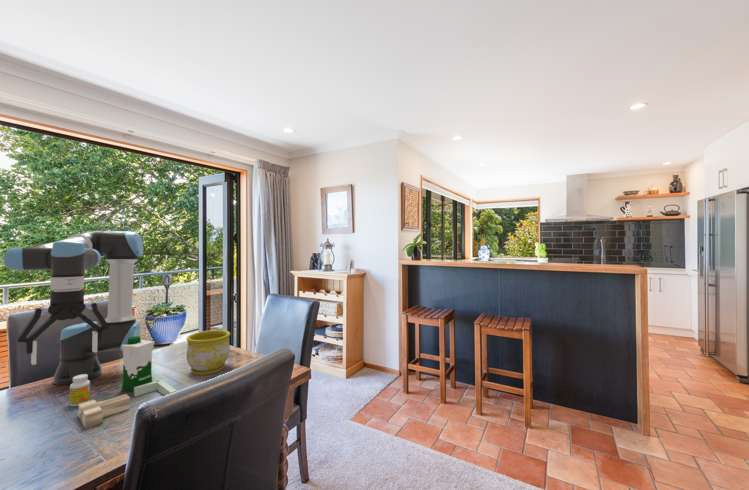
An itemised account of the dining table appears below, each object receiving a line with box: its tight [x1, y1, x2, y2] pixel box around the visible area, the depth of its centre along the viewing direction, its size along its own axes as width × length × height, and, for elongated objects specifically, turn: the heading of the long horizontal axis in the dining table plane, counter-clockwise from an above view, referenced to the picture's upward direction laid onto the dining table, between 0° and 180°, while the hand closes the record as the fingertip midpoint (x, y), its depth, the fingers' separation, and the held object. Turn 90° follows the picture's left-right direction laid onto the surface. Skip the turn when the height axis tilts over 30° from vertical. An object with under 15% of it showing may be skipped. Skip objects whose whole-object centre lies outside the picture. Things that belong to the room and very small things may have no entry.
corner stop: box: [133, 379, 177, 397], centre depth 116 cm, size 16×9×3 cm, turn 53°
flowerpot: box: [186, 329, 231, 376], centre depth 142 cm, size 18×18×16 cm
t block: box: [77, 393, 131, 429], centre depth 103 cm, size 12×12×4 cm
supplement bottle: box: [68, 374, 91, 407], centre depth 111 cm, size 5×5×10 cm
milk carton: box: [121, 335, 155, 392], centre depth 124 cm, size 9×9×20 cm
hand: (65, 357), depth 96 cm, fingers open, 13 cm apart
